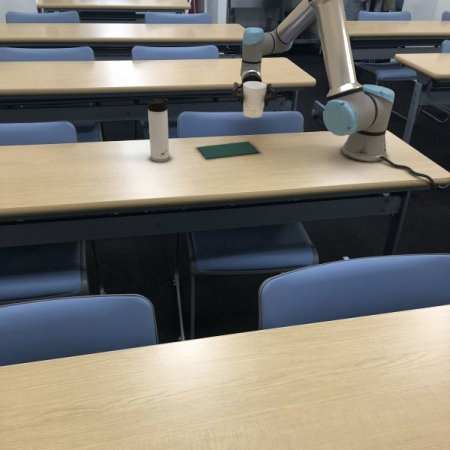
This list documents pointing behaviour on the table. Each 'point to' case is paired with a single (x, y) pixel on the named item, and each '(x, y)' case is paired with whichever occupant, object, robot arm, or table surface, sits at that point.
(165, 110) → the travel mug
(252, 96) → the white cup
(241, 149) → the placemat
